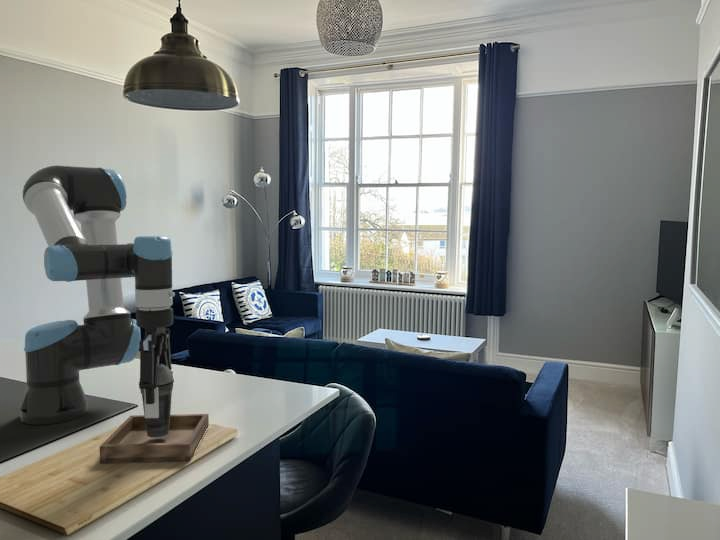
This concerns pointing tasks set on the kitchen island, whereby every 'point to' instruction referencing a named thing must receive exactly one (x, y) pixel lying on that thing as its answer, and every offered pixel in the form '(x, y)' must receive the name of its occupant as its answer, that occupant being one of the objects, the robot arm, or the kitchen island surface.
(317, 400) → the kitchen island surface
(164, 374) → the beverage cup
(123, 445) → the serving tray
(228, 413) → the kitchen island surface
